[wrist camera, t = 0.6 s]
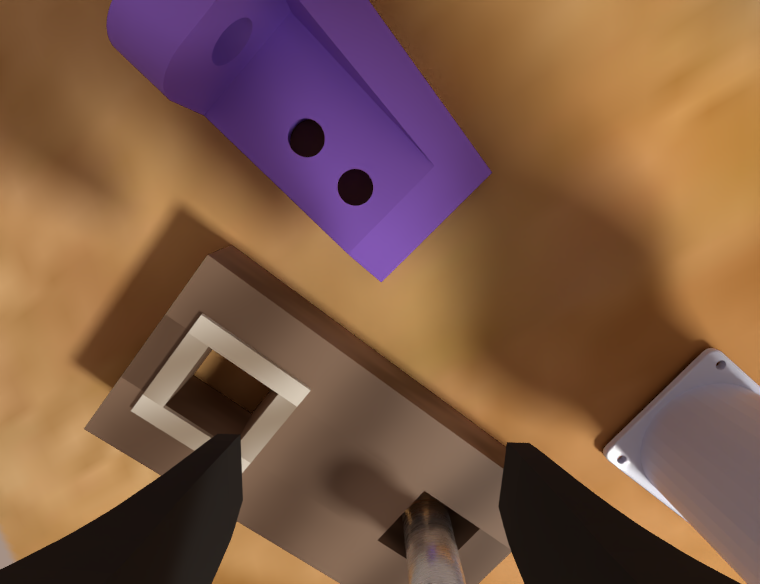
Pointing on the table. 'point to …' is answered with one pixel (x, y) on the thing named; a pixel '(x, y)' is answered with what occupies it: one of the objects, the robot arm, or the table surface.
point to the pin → (431, 543)
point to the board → (308, 428)
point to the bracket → (313, 108)
